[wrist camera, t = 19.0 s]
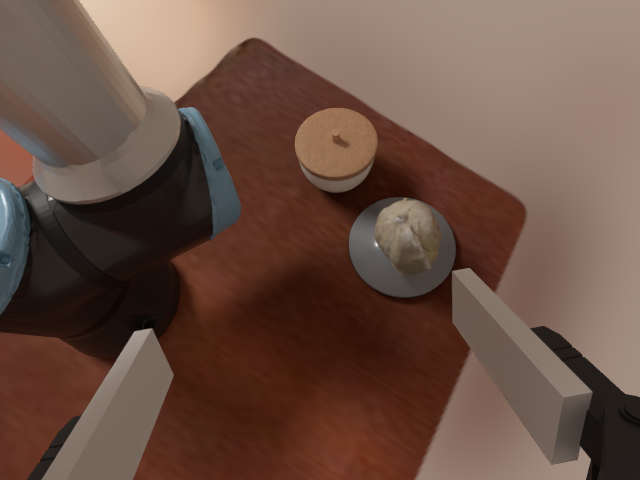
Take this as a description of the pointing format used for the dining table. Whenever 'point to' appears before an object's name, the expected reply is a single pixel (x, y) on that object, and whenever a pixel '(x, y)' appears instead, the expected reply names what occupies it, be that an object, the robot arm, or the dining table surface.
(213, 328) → the dining table surface
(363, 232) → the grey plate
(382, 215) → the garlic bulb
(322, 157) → the lidded jar
